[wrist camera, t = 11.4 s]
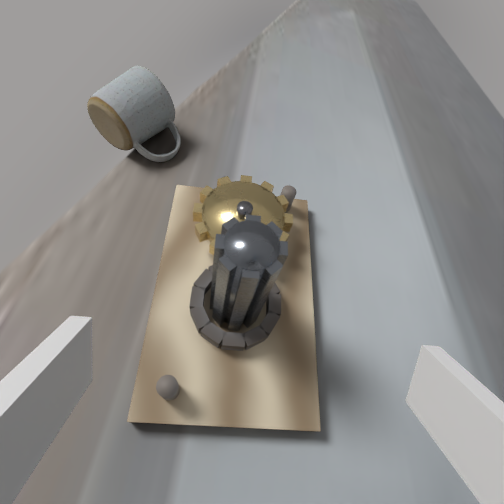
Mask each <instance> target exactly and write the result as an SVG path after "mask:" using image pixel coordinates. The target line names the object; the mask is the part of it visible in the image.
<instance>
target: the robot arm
mask: <svg viewBox="0 0 504 504" xmlns="http://www.w3.org/2000/svg"><path fill="white" fill-rule="evenodd" d="M91 382H92V317H81V316H70V317H69V318H68V319H67V320H66V321H65V322H63V323H62V324H61V325H60V326H59V327H58V328H57V329H56V330H55V331H54V332H53V333H52V334H51V335H49V336H48V337H47V338H46V339H45V340H44V341H43V342H42V343H41V344H40V345H39V346H38V347H37V348H36V349H34V350H33V351H32V352H31V353H30V354H29V355H28V356H27V357H26V358H25V359H24V360H23V361H22V362H20V363H19V364H18V365H17V366H16V367H15V368H14V369H13V370H12V371H11V372H10V373H9V374H8V375H6V376H5V377H4V378H3V379H2V380H1V381H0V504H12V503H13V501H14V500H15V498H16V497H17V495H18V494H19V492H20V490H21V489H22V487H23V486H24V484H25V483H26V481H27V480H28V478H29V477H30V475H31V474H32V472H33V471H34V469H35V467H36V466H37V464H38V463H39V461H40V460H41V458H42V457H43V455H44V454H45V452H46V451H47V449H48V448H49V446H50V444H51V443H52V441H53V440H54V438H55V437H56V435H57V434H58V432H59V431H60V429H61V428H62V426H63V425H64V423H65V421H66V420H67V418H68V417H69V415H70V414H71V412H72V411H73V409H74V408H75V406H76V405H77V403H78V402H79V400H80V398H81V397H82V395H83V394H84V392H85V391H86V389H87V388H88V386H89V385H90V383H91ZM406 403H407V404H408V405H409V407H410V408H411V409H412V411H413V412H414V414H415V415H416V416H417V418H418V419H419V420H420V422H421V423H422V424H423V426H424V427H425V429H426V430H427V431H428V433H429V434H430V435H431V437H432V438H433V440H434V441H435V442H436V444H437V445H438V446H439V448H440V449H441V450H442V452H443V453H444V455H445V456H446V457H447V459H448V460H449V461H450V463H451V464H452V466H453V467H454V468H455V470H456V471H457V472H458V474H459V475H460V477H461V478H462V479H463V481H464V482H465V483H466V485H467V486H468V487H469V489H470V490H471V492H472V493H473V494H474V496H475V497H476V498H477V500H478V501H479V503H480V504H504V403H503V402H502V401H501V400H500V399H499V398H498V397H496V396H495V395H494V394H493V393H492V392H491V391H490V390H489V389H487V388H486V387H485V386H484V385H483V384H482V383H481V382H479V381H478V380H477V379H476V378H475V377H474V376H473V375H471V374H470V373H469V372H468V371H467V370H466V369H465V368H463V367H462V366H461V365H460V364H459V363H458V362H457V361H456V360H454V359H453V358H452V357H451V356H450V355H449V354H448V353H446V352H445V351H444V350H443V349H442V348H441V347H440V346H429V345H422V347H421V350H420V353H419V357H418V360H417V364H416V367H415V370H414V374H413V377H412V381H411V384H410V387H409V391H408V394H407V398H406Z"/></svg>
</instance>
